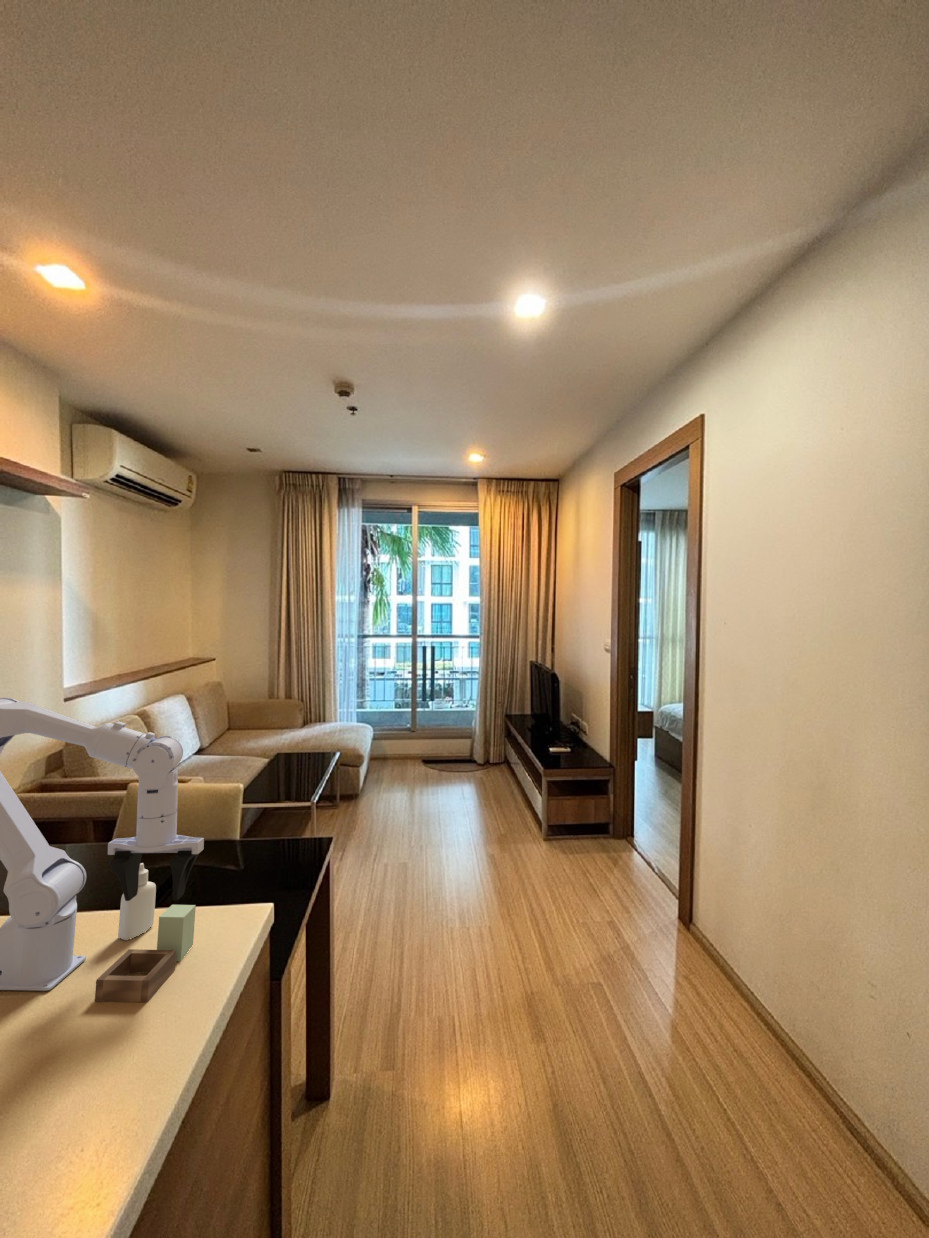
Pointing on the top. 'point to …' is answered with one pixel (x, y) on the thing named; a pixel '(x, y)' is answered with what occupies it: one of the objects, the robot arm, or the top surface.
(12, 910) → the robot arm
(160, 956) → the socket block
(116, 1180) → the top surface
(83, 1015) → the top surface
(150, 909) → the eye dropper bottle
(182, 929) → the pale green block
